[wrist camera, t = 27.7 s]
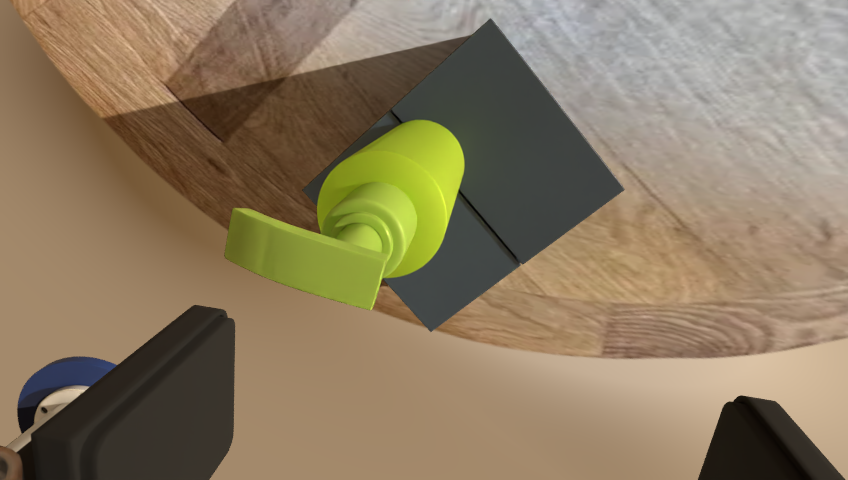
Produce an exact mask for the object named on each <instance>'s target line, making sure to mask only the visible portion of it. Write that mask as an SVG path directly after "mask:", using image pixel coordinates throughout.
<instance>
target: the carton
mask: <svg viewBox="0 0 848 480" xmlns="http://www.w3.org/2000/svg"><path fill="white" fill-rule="evenodd" d="M390 110H391V111H392V112H393V114H394V115H395V116H396V117H397V118H398V120H399V121H400V122H401V123H402V124H403V123H405V122H408V121H412V120H428V121H432V122H435V123H438V124H440V125H442V126H443V127H445V128H446V129H448V130H449V131H450V132H451V133H452V134H453V135H454V136H455V138H456V139H457V141H458V142H459V144H460V146H461V149H462V151H463V155H464V174H463V177H462V181H461V184H460V187H459V192H460V193H461V194H462V195H463V196H464V197H465V199H466V200H467V201H468V202H469V203H470V205H471V206H472V207H473V208H474V209H475V210H476V212H477V213H478V214H479V215H480V216H481V218H482V219H483V220H484V221H485V222H486V223H487V225H488V226H489V227H490V228H491V229H492V231H493V232H494V233H495V234H496V235H497V236H498V238H499V239H500V240H501V241H502V242H503V243H504V245H505V246H506V247H507V248H508V249H509V251H510V252H511V253H512V254H513V255H514V256H515V258H516V259H517V260H518V261H519V262H520V263H522V264H524V263H526V262H527V261H528V260H530V259H531V258H532V257H534V256H535V255H536V254H538V253H539V252H541V251H542V250H543V249H545V248H546V247H547V246H549V245H550V244H551V243H553V242H554V241H556V240H557V239H558V238H560V237H561V236H562V235H564V234H565V233H566V232H568V231H569V230H571V229H572V228H573V227H575V226H576V225H577V224H579V223H580V222H581V221H583V220H584V219H586V218H587V217H588V216H590V215H591V214H592V213H594V212H595V211H596V210H598V209H599V208H601V207H602V206H603V205H605V204H606V203H607V202H609V201H610V200H611V199H613V198H614V197H615V196H617V195H618V194H620V193H621V192H622V191H624V190H625V189H624V188H623V186H622V184H621V183H620V182H619V181H618V179H617V178H616V177H615V175H614V174H613V173H612V172H611V170H610V169H609V168H608V166H607V165H606V164H605V163H604V161H603V160H602V159H601V158H600V156H599V155H598V154H597V152H596V151H595V150H594V149H593V147H592V146H591V145H590V144H589V142H588V141H587V140H586V138H585V137H584V136H583V135H582V133H581V132H580V131H579V129H578V128H577V127H576V126H575V124H574V123H573V122H572V121H571V119H570V118H569V117H568V115H567V114H566V113H565V112H564V110H563V109H562V108H561V107H560V105H559V104H558V103H557V101H556V100H555V99H554V98H553V96H552V95H551V94H550V92H549V91H548V90H547V89H546V87H545V86H544V85H543V84H542V82H541V81H540V80H539V78H538V77H537V76H536V75H535V73H534V72H533V71H532V70H531V68H530V67H529V66H528V64H527V63H526V62H525V61H524V59H523V58H522V57H521V55H520V54H519V53H518V52H517V50H516V49H515V48H514V47H513V45H512V44H511V43H510V41H509V40H508V39H507V38H506V36H505V35H504V34H503V33H502V31H501V30H500V29H499V27H498V26H497V25H496V24H495V22H494V21H493V20H492V19H491V18H490V19H489V20H488V21H487V22H486V23H485V24H484V25H483V26H481V27H480V28H479V29H478V30H477V31H476V32H475V33H474V34H473V35H472V36H470V37H469V38H468V39H467V40H466V41H465V42H464V43H463V44H462V45H461V46H459V47H458V48H457V49H456V50H455V51H454V52H453V53H452V54H451V55H450V56H448V57H447V58H446V59H445V60H444V61H443V62H442V63H441V64H440V65H439V66H437V67H436V68H435V69H434V70H433V71H432V72H431V73H430V74H429V75H428V76H427V77H425V78H424V79H423V80H422V81H421V82H420V83H419V84H418V85H417V86H416V87H414V88H413V89H412V90H411V91H410V92H409V93H408V94H407V95H406V96H405V97H403V98H402V99H401V100H400V101H399V102H398V103H397V104H396V105H395V106H394V107H392V108H391V109H390ZM390 110H389V111H390ZM380 119H381V118H380ZM380 119H379V120H380ZM368 130H369V129H368ZM357 140H358V139H357Z"/></svg>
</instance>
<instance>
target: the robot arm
mask: <svg viewBox="0 0 848 480" xmlns="http://www.w3.org/2000/svg"><path fill="white" fill-rule="evenodd" d="M234 358H235V323H234V320H233V319H232V318H228V317H227V313H226V311H224V310H222V309H217V308H211V307H204V306H199V305H194V306H192V307H191V308H190V309H188V310H187V311H185V312H184V313H183V314H182V315H180V316H179V317H178V318H177V319H176V320H174V321H173V322H172V323H170V324H169V325H168V326H167V327H165V328H164V329H163V330H162V331H160V332H159V333H158V334H156V335H155V336H154V337H153V338H151V339H150V340H149V341H148V342H146V343H145V344H144V345H143V346H141V347H140V348H139V349H137V350H136V351H135V352H134V353H133V354H131V355H130V356H129V357H127V358H126V359H125V360H124V361H122V362H121V363H120V364H118V365H117V366H116V367H115V368H113V369H112V370H111V371H110V372H108V373H107V374H106V375H105V376H103V377H102V378H101V379H100V380H98V381H97V382H96V383H94V384H93V385H92V386H91V387H88V386H81V385H73V386H66V387H63V388H60V389H57V390H56V391H54V392H53V393H51V394H50V395H49V396H47V397H46V398H45V399H44V400H43V401H42V402H41V403H40V405H39V406H38V408H37V411H36V414H35V420H34V425H33V426H32V427H30V428H29V429H28V430H27V431H25V432H24V433H23V434H21V435H20V436H19V437H18V438H16V439H15V440H14V441H12V442H11V443H10V444H9V445H7V446H6V447H3V446H0V480H209V479H210V478H211V476H212V475H213V473H214V472H215V470H216V469H217V467H218V466H219V464H220V463H221V461H222V460H223V459H224V457H225V456H226V454H227V453H228V451H229V448H230V446H231V443H232V439H233V429H234V428H233V427H234V361H235V360H234ZM698 480H845V479H844V478H843V477H842V475H841V474H840V473H839V472H838V471H837V470H836V469H835V467H834V466H833V465H832V464H831V463H830V462H829V461H828V459H827V458H826V457H825V456H824V455H823V454H822V453H821V451H820V450H819V449H818V448H817V447H816V446H815V445H814V444H813V442H812V441H811V440H810V439H809V438H808V437H807V436H806V435H805V433H804V432H803V431H802V430H801V429H800V427H799V426H798V425H797V424H796V423H795V422H794V421H793V420H792V418H790V416H789V415H788V414H787V413H786V412H785V410H784V409H783V408H782V407H781V406H780V405H779V404H778V403H777V402H775V401H771V400H765V399H759V398H753V397H747V396H738V397H737V398H736V399H735V400H734V401H733V402H727V403H726V404H725V405H724V407H723V409H722V412H721V414H720V418H719V420H718V423H717V426H716V429H715V432H714V435H713V438H712V440H711V443H710V446H709V449H708V452H707V455H706V458H705V461H704V464H703V466H702V469H701V472H700V475H699V478H698Z"/></svg>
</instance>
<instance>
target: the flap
mask: <svg viewBox="0 0 848 480" xmlns="http://www.w3.org/2000/svg"><path fill="white" fill-rule="evenodd" d="M401 124H402V123H401V122H400V121H399V120H398V118H397V117H396V116H395V115H394V114H393V112H392V111H391V110H390V111H388V112H387V113H386V114H385V115H384V116H383V117H382V118H381V119H380V120H378V121H377V122H376V123H375V124H374V125H373V126H372V127H371V128H370V129H369V130H367V131H366V132H365V133H364V134H363V135H362V136H361V137H360V138H359V139H358V140H356V141H355V142H354V143H353V144H352V145H351V146H350V147H349V148H348V149H346V150H345V151H344V152H343V153H342V154H341V155H340V156H339V157H338V158H337V159H335V160H334V161H333V162H332V163H331V164H330V165H329V166H328V167H327V168H326V169H324V170H323V171H322V172H321V173H320V174H319V175H318V176H317V177H316V178H315V179H313V180H312V181H311V182H310V183H309V184H308V185H307V186H306V187H305V188H304V189H302V190H303V192H304V193H305V194H306V195H307V196H308V197H309V198H310V199H311V200H312V202H313V203H314V204H315V205H316V206H317V203H318V197H319V193H320V190H321V188H322V185H323V183H324V181H325V180H326V178H327V176H328V175H329V174H330V172H331V171H332V170H333V169H334V168H335V167H336V166H337V165H338V164H340V163H341V162H342V161H344V160H345V159H347V158H348V157H350V156H352V155H353V154H355V153H356V152H358V151H359V150H361V149H363V148H364V147H366V146H367V145H369V144H370V143H372V142H374V141H375V140H377V139H378V138H380V137H381V136H383V135H384V134H386V133H388V132H389V131H391V130H392V129H394V128H395V127H397V126H399V125H401ZM519 266H520V262H519V261H518V260H517V259H516V258H515V256H514V255H513V254H512V253H511V252H510V251H509V249H508V248H507V247H506V246H505V245H504V243H503V242H502V241H501V240H500V239H499V238H498V236H497V235H496V234H495V233H494V232H493V231H492V229H491V228H490V227H489V226H488V225H487V223H486V222H485V221H484V220H483V219H482V218H481V216H480V215H479V214H478V213H477V212H476V210H475V209H474V208H473V207H472V206H471V205H470V203H469V202H468V201H467V200H466V199H465V197H464V196H463V195H462V194H461V193H460V192H459V190H458V193H457V197H456V200H455V203H454V206H453V210H452V213H451V216H450V219H449V222H448V226H447V229H446V232H445V235H444V238H443V241H442V243H441V245H440V247H439V249H438V251H437V252H436V253H435V255H434V256H433V257H432V258H431V259H430V260H429V261H428V262H427V263H426V264H425V265H424V266H422V267H421V268H419V269H418V270H416V271H414V272H412V273H410V274H407V275H404V276H400V277H394V278H382V279H383V280H384V281H385V282H386V283H387V284H388V285H389V286H390V288H391V289H392V290H393V291H394V292H395V293H396V294H397V295H398V296H399V297H400V299H401V300H402V301H403V302H404V303H405V304H406V305H407V306H408V307H409V308H410V310H411V311H412V312H413V313H414V314H415V315H416V316H417V317H418V318H419V320H420V321H421V322H422V323H423V324H424V325H425V326H426V327H427V328H428V329H429V331H431V332H432V331H433V330H434V329H436V328H437V327H438V326H440V325H441V324H442V323H444V322H445V321H446V320H448V319H449V318H450V317H452V316H453V315H454V314H456V313H457V312H458V311H460V310H461V309H462V308H464V307H465V306H467V305H468V304H469V303H471V302H472V301H473V300H475V299H476V298H477V297H479V296H480V295H481V294H483V293H484V292H485V291H487V290H488V289H489V288H491V287H492V286H493V285H495V284H496V283H497V282H499V281H500V280H501V279H503V278H504V277H505V276H507V275H508V274H510V273H511V272H512V271H514V270H515V269H516V268H518V267H519Z"/></svg>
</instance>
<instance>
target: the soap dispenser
mask: <svg viewBox="0 0 848 480" xmlns="http://www.w3.org/2000/svg"><path fill="white" fill-rule="evenodd" d="M463 174H464V155H463V151H462V149H461V146H460V144H459V142H458V141H457V139H456V138H455V136H454V135H453V134H452V133H451V132H450V131H449V130H448V129H446V128H445V127H443V126H442V125H440V124H438V123H435V122H432V121H428V120H412V121H408V122H405V123H403V124H401V125H399V126H397V127H395V128H394V129H392V130H391V131H389V132H388V133H386V134H384V135H383V136H381V137H380V138H378V139H377V140H375V141H374V142H372V143H370V144H369V145H367V146H366V147H364V148H363V149H361V150H359V151H358V152H356V153H355V154H353V155H352V156H350V157H348V158H347V159H345V160H344V161H342V162H341V163H340V164H338V165H337V166H336V167H335V168H334V169H333V170H332V171H331V172H330V174H329V175H328V176H327V178H326V180H325V181H324V183H323V185H322V188H321V190H320V193H319V197H318V203H317V218H318V224H319V228H320V234H318V233H315V232H311V231H308V230H305V229H302V228H299V227H296V226H293V225H290V224H287V223H284V222H281V221H279V220H276V219H273V218H271V217H268V216H266V215H264V214H261V213H259V212H257V211H254V210H252V209H249V208H233V209H232V214H231V219H230V225H229V230H228V236H227V243H226V249H225V255H224V256H225V258H226V259H227V260H229V261H231V262H233V263H235V264H237V265H239V266H241V267H243V268H245V269H247V270H249V271H251V272H254V273H256V274H258V275H260V276H263V277H265V278H268V279H270V280H273V281H275V282H278V283H281V284H283V285H286V286H289V287H292V288H295V289H298V290H301V291H304V292H307V293H311V294H314V295H317V296H321V297H324V298H328V299H331V300H335V301H338V302H341V303H345V304H349V305H353V306H356V307H359V308H363V309H367V310H372V308H373V306H374V304H375V301H376V297H377V294H378V290H379V287H380V283H381V280H382V278H394V277H400V276H404V275H407V274H410V273H412V272H414V271H416V270H418V269H419V268H421V267H422V266H424V265H425V264H426V263H427V262H428V261H429V260H430V259H431V258H432V257H433V256H434V255H435V253H436V252H437V251H438V249H439V247H440V245H441V243H442V241H443V238H444V235H445V232H446V229H447V226H448V222H449V219H450V216H451V213H452V210H453V206H454V203H455V200H456V197H457V193H458V190H459V187H460V184H461V181H462V177H463Z"/></svg>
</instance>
